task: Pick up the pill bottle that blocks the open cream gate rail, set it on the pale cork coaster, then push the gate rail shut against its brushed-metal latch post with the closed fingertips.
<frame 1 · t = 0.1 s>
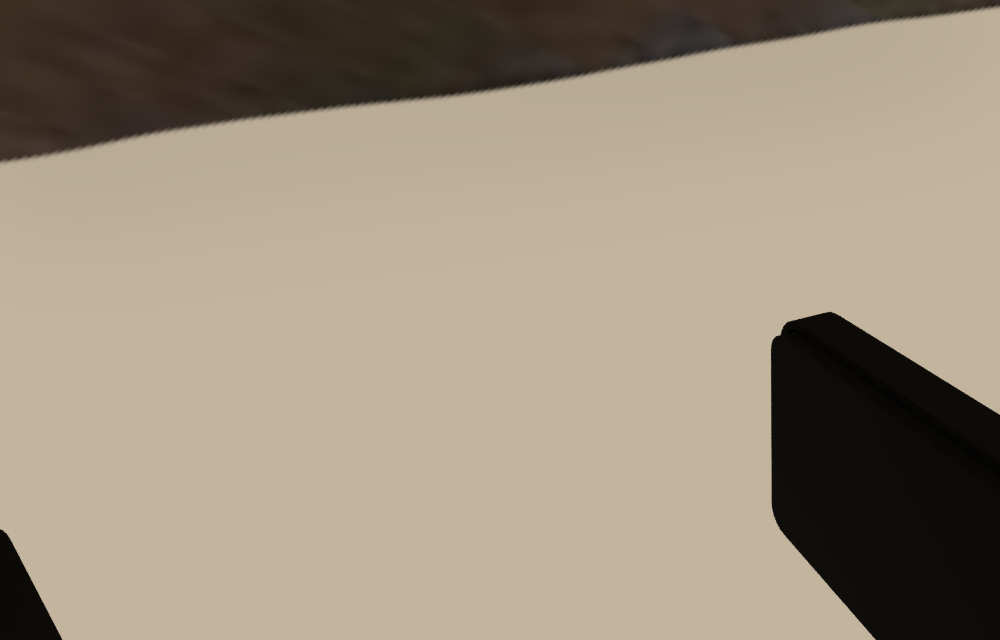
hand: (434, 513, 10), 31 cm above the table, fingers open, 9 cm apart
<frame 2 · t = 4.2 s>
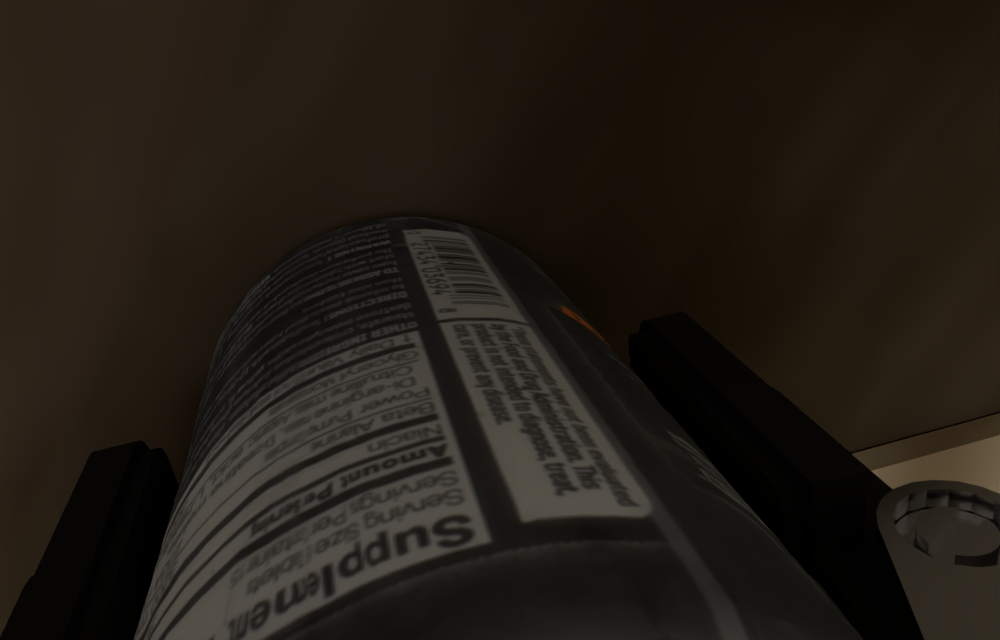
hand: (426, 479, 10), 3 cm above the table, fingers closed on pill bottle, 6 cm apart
coaster: (858, 636, 17), on the table
pill bottle: (402, 382, 13), on the table, touching gripper
when the fingers open (4 cm above the table, at t = 9.3 s): pill bottle stays where it is, resting on coaster.
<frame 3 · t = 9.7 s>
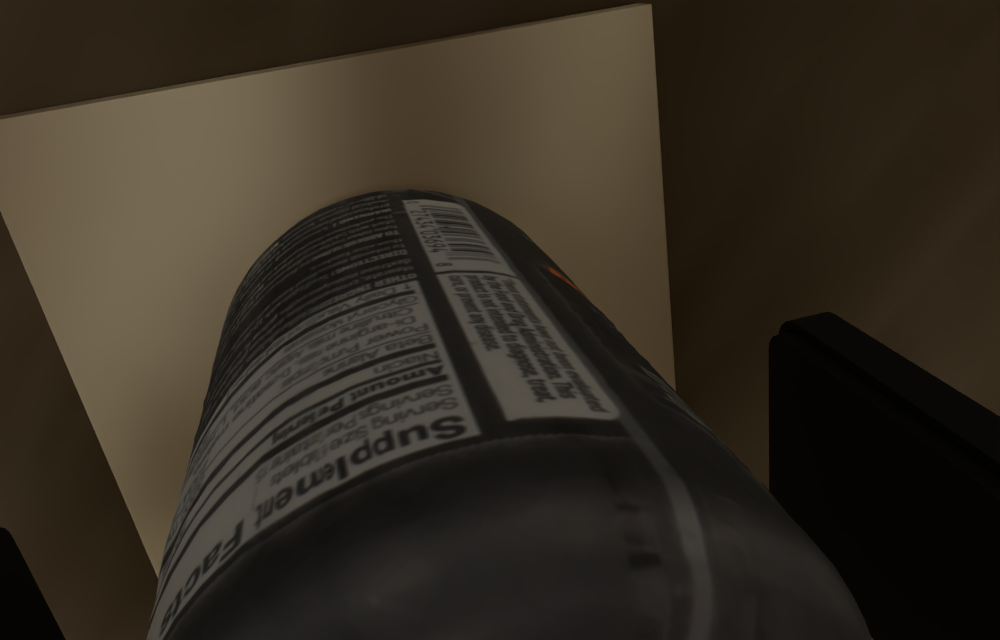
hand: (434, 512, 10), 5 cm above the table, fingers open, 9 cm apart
coaster: (394, 348, 14), on the table
pill bottle: (402, 348, 14), resting on coaster
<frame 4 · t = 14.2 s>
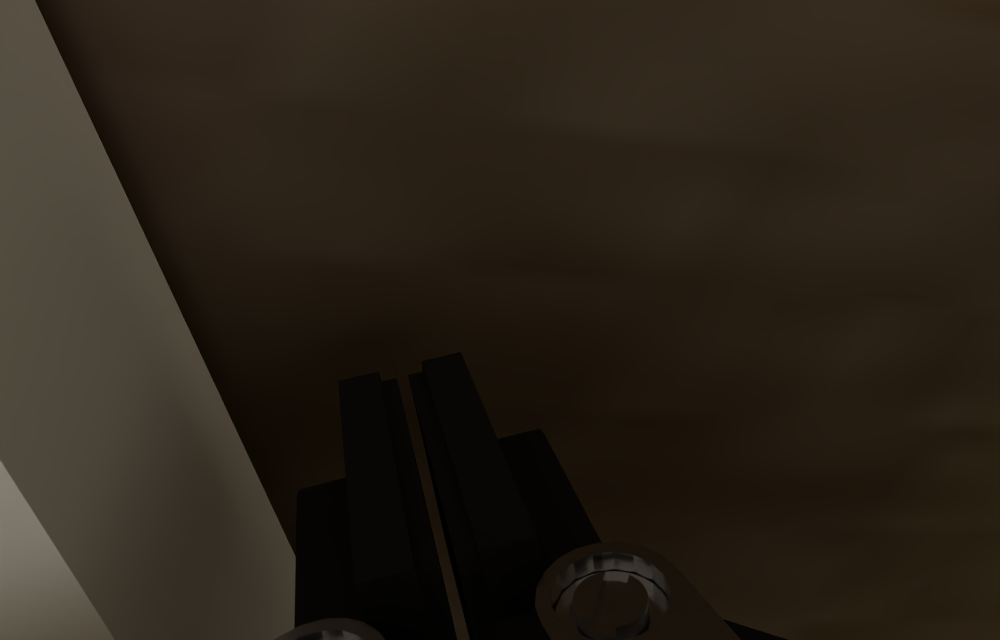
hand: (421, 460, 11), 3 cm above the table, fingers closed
gate: (106, 485, 9), point 4 cm above the table, hinge at 74.3°, touching gripper
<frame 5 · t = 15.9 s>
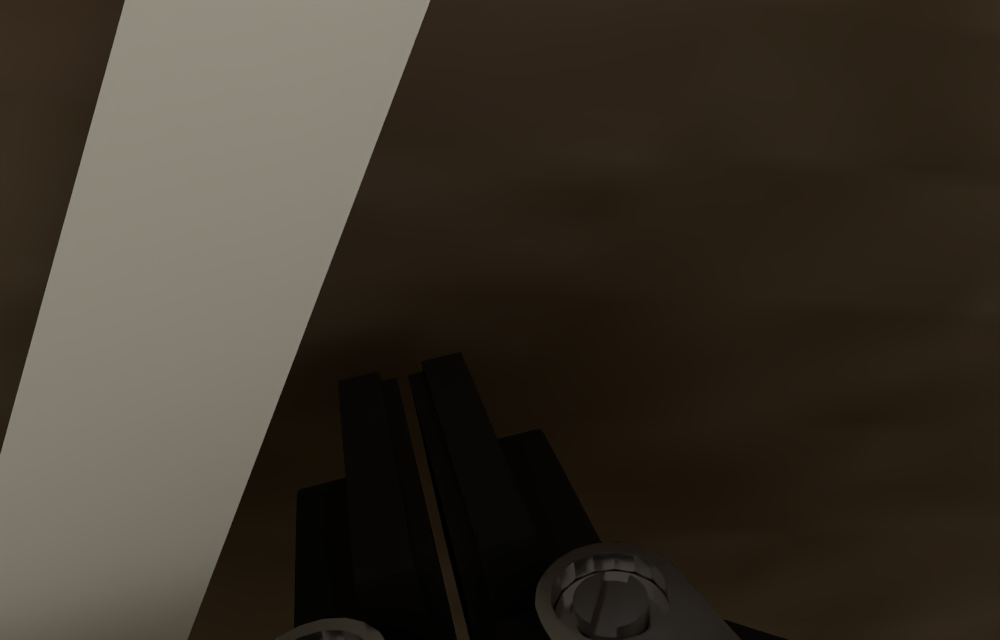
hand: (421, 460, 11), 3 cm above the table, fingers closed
gate: (168, 352, 8), point 4 cm above the table, hinge at 34.8°, touching gripper
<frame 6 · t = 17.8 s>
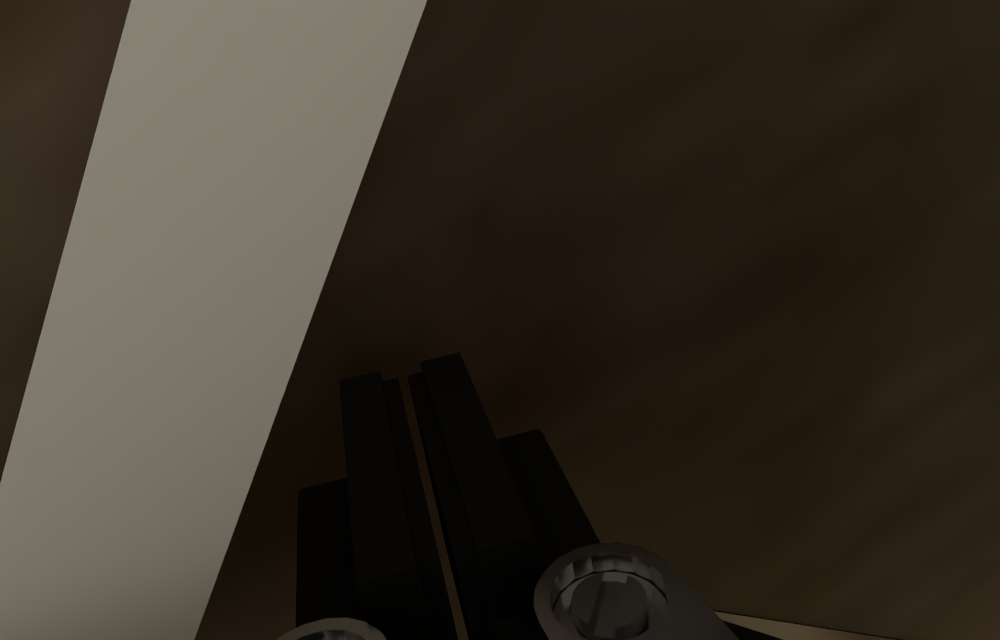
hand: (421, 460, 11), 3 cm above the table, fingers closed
gate: (167, 359, 8), point 4 cm above the table, hinge at -1.5°, touching gripper
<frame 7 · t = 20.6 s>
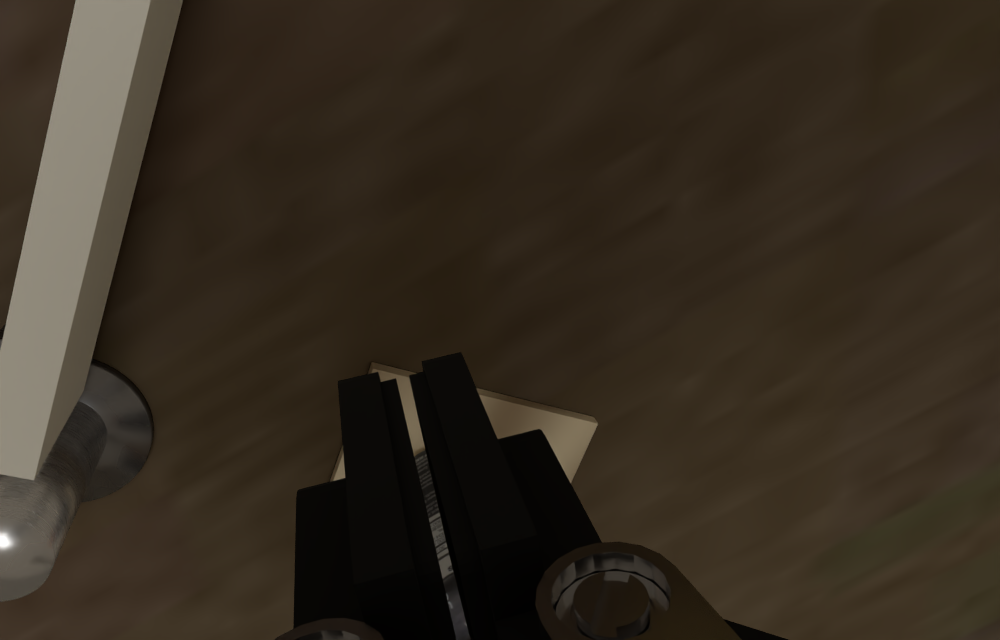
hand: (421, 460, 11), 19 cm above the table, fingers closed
gate: (91, 189, 22), point 4 cm above the table, hinge at -0.9°
coaster: (447, 490, 34), on the table
pill bottle: (453, 493, 34), resting on coaster
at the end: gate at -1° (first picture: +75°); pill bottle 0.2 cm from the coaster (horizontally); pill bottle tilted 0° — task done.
